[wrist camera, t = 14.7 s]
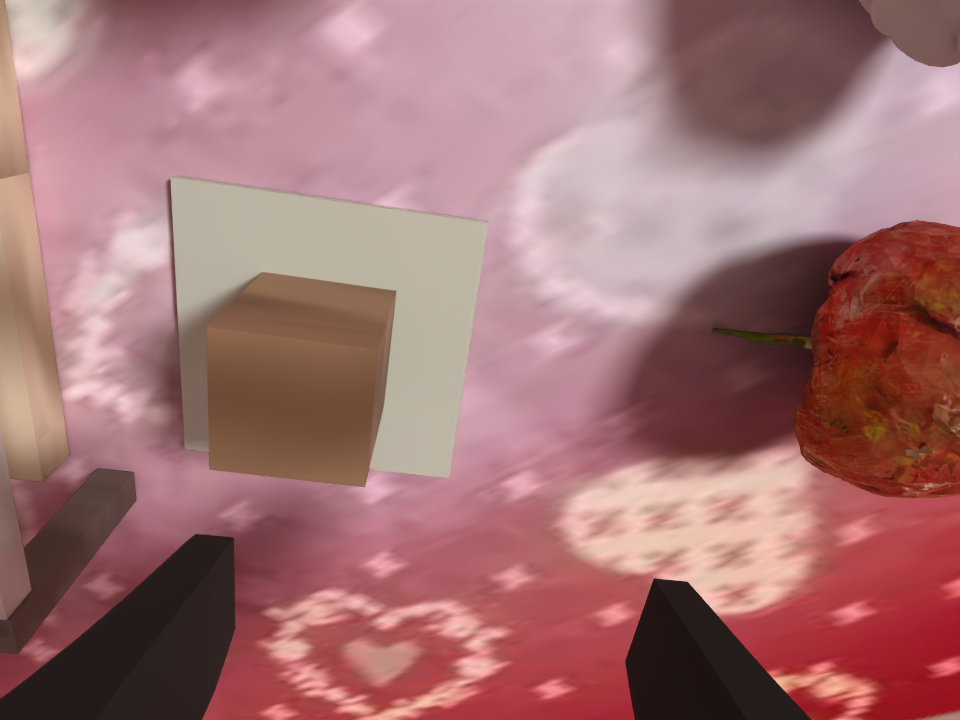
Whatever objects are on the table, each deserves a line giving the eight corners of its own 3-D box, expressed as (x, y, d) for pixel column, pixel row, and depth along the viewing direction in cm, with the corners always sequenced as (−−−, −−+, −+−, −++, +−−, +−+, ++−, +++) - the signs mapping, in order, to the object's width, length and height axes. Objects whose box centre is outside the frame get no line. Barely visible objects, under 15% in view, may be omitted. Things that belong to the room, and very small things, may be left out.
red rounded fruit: (722, 401, 24) (1066, 491, 18) (653, 469, 18) (1124, 628, 13) (762, 202, 21) (1168, 238, 16) (697, 206, 16) (1295, 264, 10)
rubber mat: (449, 472, 22) (449, 477, 22) (188, 444, 21) (184, 449, 21) (488, 221, 18) (488, 223, 18) (175, 175, 18) (170, 177, 17)
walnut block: (384, 405, 21) (364, 487, 16) (260, 389, 20) (209, 469, 16) (396, 290, 19) (378, 349, 15) (262, 271, 19) (206, 326, 14)
